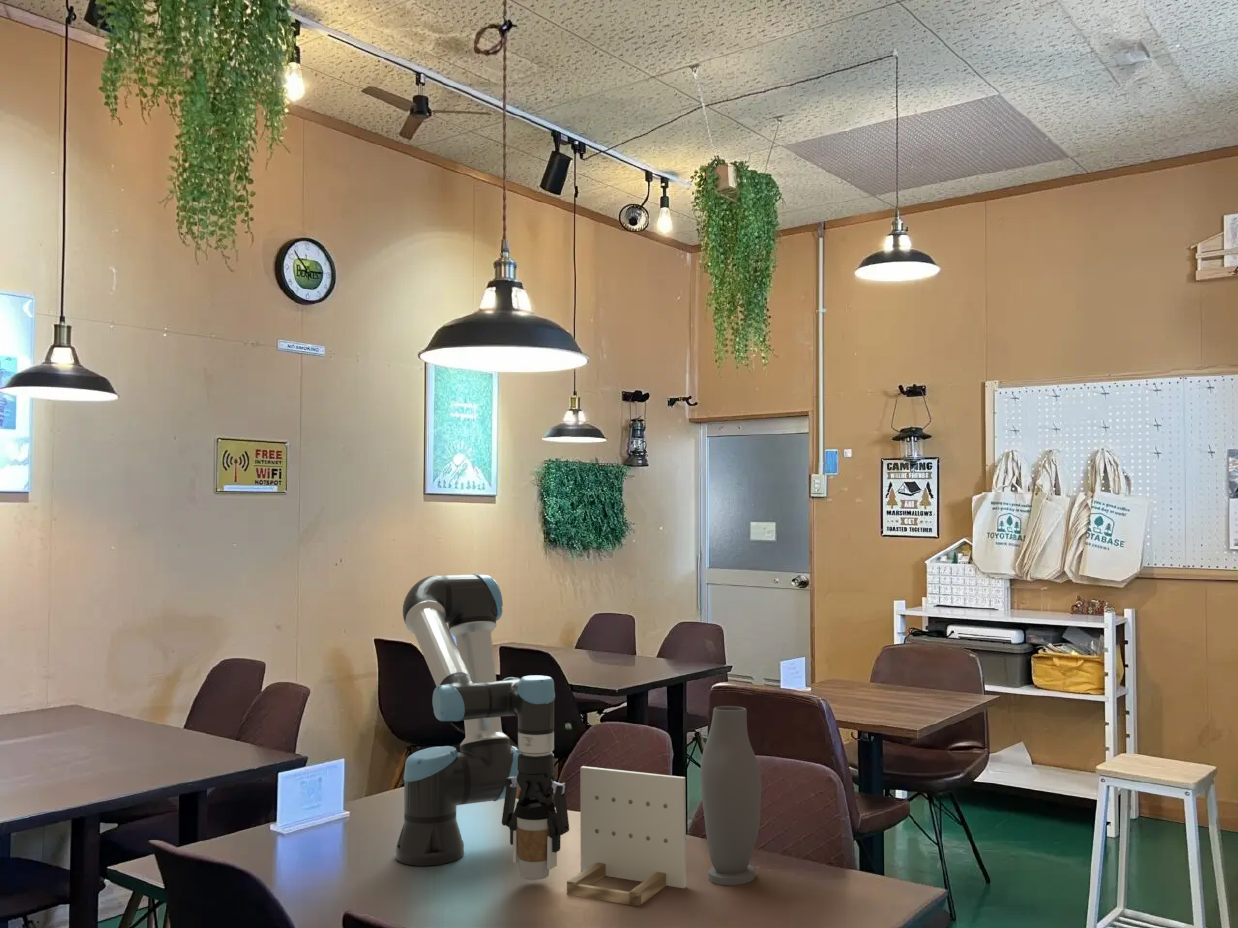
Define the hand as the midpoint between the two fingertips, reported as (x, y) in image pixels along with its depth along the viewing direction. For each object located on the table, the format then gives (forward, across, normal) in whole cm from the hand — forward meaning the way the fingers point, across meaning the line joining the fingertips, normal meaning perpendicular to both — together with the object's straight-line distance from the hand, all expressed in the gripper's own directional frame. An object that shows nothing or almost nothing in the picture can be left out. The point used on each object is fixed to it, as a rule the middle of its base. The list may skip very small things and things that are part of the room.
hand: (534, 863), depth 211 cm
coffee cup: (+2, 0, 0) cm, 2 cm away
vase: (+4, +35, +23) cm, 42 cm away
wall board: (+4, +17, +12) cm, 21 cm away
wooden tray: (+4, +17, +5) cm, 18 cm away
